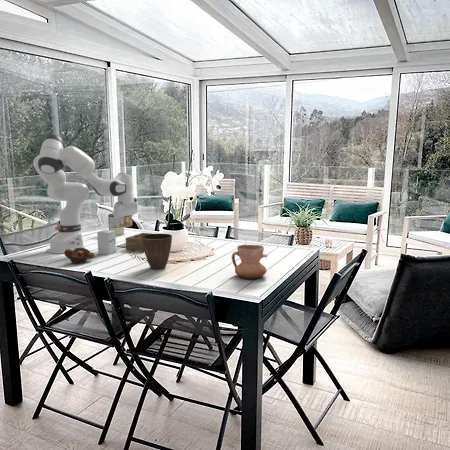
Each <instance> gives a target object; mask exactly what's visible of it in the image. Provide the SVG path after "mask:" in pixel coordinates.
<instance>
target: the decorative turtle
mask: <svg viewBox="0 0 450 450" xmlns="http://www.w3.org/2000/svg"><path fill="white" fill-rule="evenodd" d="M63 254H64V256H65V257H66V259H69V260H70V262H71V263H73V264H74V265H77V264H78V263H79V262H81V263H82V264H86V262H87V260H88V259H94V257H95V253H94V252H91V251H90V250H89V249H87V248H86V247H85V248H76V249H74V250H71V249H67V250H65V252H64V253H63Z"/></svg>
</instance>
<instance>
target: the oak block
mask: <svg viewBox="0 0 450 450" xmlns="http://www.w3.org/2000/svg"><path fill="white" fill-rule="evenodd" d="M124 221H125V224H121V220H120V226H121V227H124V228H130V227H132V226H133V215H132V216H125V217H124Z"/></svg>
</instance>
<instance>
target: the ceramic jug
mask: <svg viewBox="0 0 450 450" xmlns="http://www.w3.org/2000/svg"><path fill="white" fill-rule="evenodd" d="M264 251H265V249H264V246H263V245H260V244H240V245H238V246H237V251H233V252H232V254H231V262H232V264H233V265H234V272H235V275H237V276H238V277H241V278H243V279H249V280H250V279H251V280H254V279H259V278H261V277H264V276H265V274H267V268H266V266H265V265H264V264H262V263H261V262H260V261H261V259H262V258H266V259H267V258H268V256H269V255H268V254H267V253H266V254H265V253H264ZM236 256H237V257H239V259H240V261H241V262H240V263H239V264H237V263H236V258H235V257H236Z"/></svg>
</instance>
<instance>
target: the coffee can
mask: <svg viewBox="0 0 450 450" xmlns="http://www.w3.org/2000/svg"><path fill="white" fill-rule="evenodd" d="M107 216H108V217H107V218H108V230H113V231H115V237H119V236H120V237H121V236H124V235H125V227H121V226H120V218H114V216H113V213H109V214H108V215H107Z"/></svg>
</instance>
